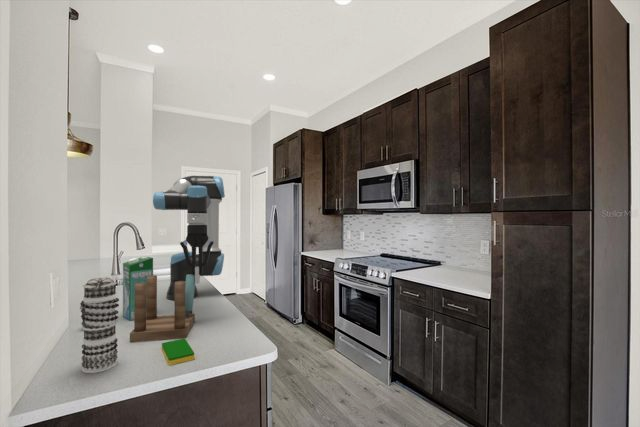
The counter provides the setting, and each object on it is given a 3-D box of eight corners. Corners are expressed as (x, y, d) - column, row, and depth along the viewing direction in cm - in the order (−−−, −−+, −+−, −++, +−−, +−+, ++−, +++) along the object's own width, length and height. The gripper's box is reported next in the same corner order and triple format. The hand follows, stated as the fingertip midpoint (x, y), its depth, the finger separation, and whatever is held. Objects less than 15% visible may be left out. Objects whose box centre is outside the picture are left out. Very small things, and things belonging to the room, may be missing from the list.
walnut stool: (147, 323, 127) (147, 275, 127) (195, 320, 131) (195, 273, 131) (129, 342, 109) (130, 285, 109) (185, 337, 113) (186, 283, 113)
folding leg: (183, 308, 129) (187, 274, 129) (193, 308, 129) (196, 274, 130) (181, 311, 125) (185, 275, 125) (191, 311, 126) (195, 276, 126)
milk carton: (122, 315, 136) (122, 257, 136) (145, 311, 143) (145, 255, 143) (129, 320, 130) (129, 259, 130) (153, 315, 137) (153, 257, 137)
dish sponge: (184, 345, 108) (184, 337, 108) (194, 360, 96) (194, 352, 96) (161, 350, 104) (161, 342, 104) (168, 367, 92) (168, 358, 92)
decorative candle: (93, 376, 86) (93, 283, 86) (72, 369, 89) (73, 280, 89) (126, 362, 94) (126, 277, 94) (105, 356, 98) (106, 275, 98)
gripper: (177, 224, 123) (178, 285, 123) (213, 224, 126) (213, 284, 126) (182, 224, 130) (182, 281, 130) (215, 223, 133) (215, 280, 133)
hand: (197, 282), depth 128 cm, fingers closed
